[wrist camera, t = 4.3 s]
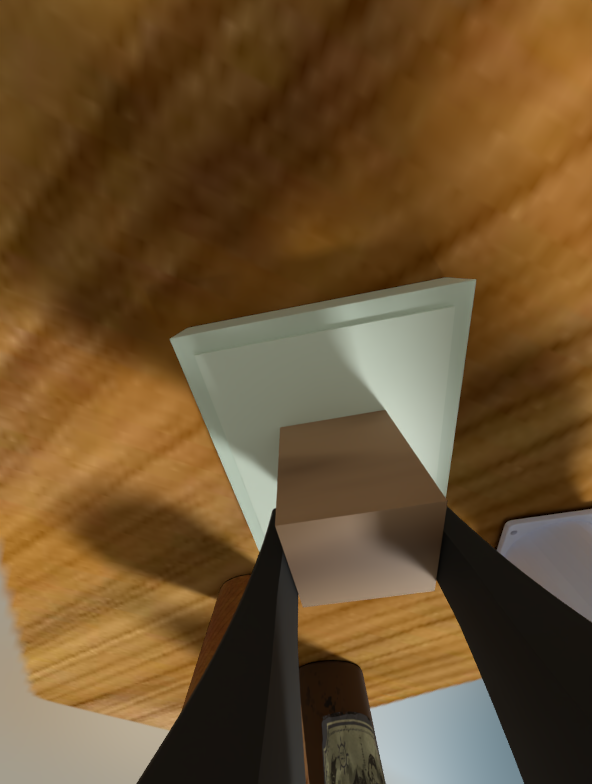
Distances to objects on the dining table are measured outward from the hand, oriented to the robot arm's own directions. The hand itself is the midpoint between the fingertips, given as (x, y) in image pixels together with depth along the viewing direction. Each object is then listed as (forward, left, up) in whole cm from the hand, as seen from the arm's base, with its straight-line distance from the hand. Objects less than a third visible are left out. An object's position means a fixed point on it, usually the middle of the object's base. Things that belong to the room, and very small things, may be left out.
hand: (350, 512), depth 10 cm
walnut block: (0, 0, -3) cm, 3 cm away
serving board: (0, 0, -5) cm, 5 cm away
